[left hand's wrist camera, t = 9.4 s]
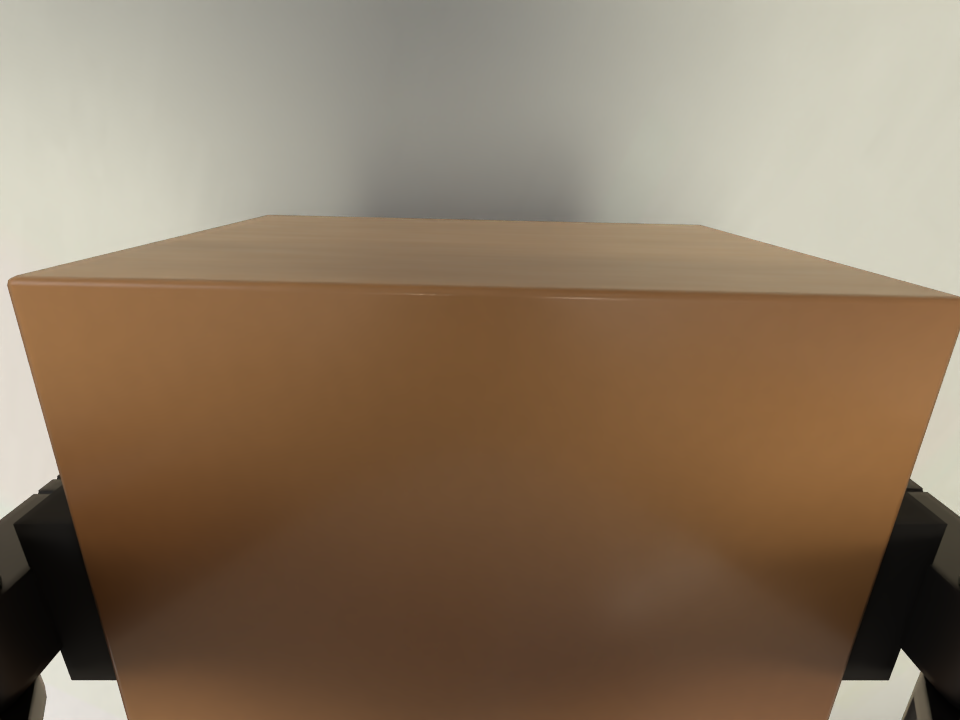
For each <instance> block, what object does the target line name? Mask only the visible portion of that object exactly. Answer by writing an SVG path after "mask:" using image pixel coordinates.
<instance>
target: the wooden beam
mask: <svg viewBox="0 0 960 720" xmlns="http://www.w3.org/2000/svg"><path fill="white" fill-rule="evenodd" d="M7 286H8V290H9V293H10V297H11V300H12V304H13V308H14V311H15V315H16V318H17V322H18V326H19V329H20V333H21V337H22V340H23V344H24V347H25V351H26V355H27V358H28V362H29V365H30V369H31V373H32V376H33V380H34V383H35V387H36V391H37V394H38V398H39V401H40V405H41V409H42V412H43V416H44V419H45V423H46V427H47V430H48V434H49V437H50V441H51V445H52V448H53V452H54V455H55V459H56V463H57V466H58V470H59V474H60V477H61V481H62V484H63V488H64V492H65V495H66V499H67V502H68V506H69V510H70V513H71V517H72V520H73V524H74V528H75V531H76V535H77V538H78V542H79V546H80V549H81V553H82V556H83V560H84V564H85V567H86V571H87V574H88V578H89V582H90V585H91V589H92V593H93V596H94V600H95V603H96V607H97V611H98V614H99V618H100V621H101V625H102V629H103V632H104V636H105V639H106V643H107V647H108V650H109V654H110V657H111V661H112V665H113V668H114V672H115V675H116V679H117V683H118V686H119V690H120V693H121V697H122V701H123V704H124V708H125V712H126V715H127V719H128V720H828V719H829V716H830V713H831V710H832V707H833V704H834V701H835V698H836V696H837V693H838V690H839V687H840V684H841V681H842V678H843V675H844V672H845V669H846V666H847V663H848V660H849V657H850V654H851V651H852V648H853V645H854V642H855V639H856V636H857V633H858V630H859V627H860V624H861V621H862V618H863V616H864V613H865V610H866V607H867V604H868V601H869V598H870V595H871V592H872V589H873V586H874V583H875V580H876V577H877V574H878V571H879V568H880V565H881V562H882V559H883V556H884V553H885V550H886V547H887V544H888V541H889V538H890V536H891V533H892V530H893V527H894V524H895V521H896V518H897V515H898V512H899V509H900V506H901V503H902V500H903V497H904V494H905V491H906V488H907V485H908V482H909V479H910V476H911V473H912V470H913V467H914V464H915V461H916V458H917V456H918V453H919V450H920V447H921V444H922V441H923V438H924V435H925V432H926V429H927V426H928V423H929V420H930V417H931V414H932V411H933V408H934V405H935V402H936V399H937V396H938V393H939V390H940V387H941V384H942V381H943V378H944V376H945V373H946V370H947V367H948V364H949V361H950V358H951V355H952V352H953V349H954V346H955V343H956V340H957V337H958V334H959V331H960V297H959V296H955V295H952V294H948V293H944V292H941V291H937V290H934V289H930V288H926V287H923V286H919V285H915V284H912V283H908V282H905V281H901V280H897V279H894V278H890V277H887V276H883V275H879V274H876V273H872V272H868V271H865V270H861V269H858V268H854V267H850V266H847V265H843V264H839V263H836V262H832V261H829V260H825V259H821V258H818V257H814V256H810V255H807V254H803V253H800V252H796V251H792V250H789V249H785V248H782V247H778V246H774V245H771V244H767V243H763V242H760V241H756V240H753V239H749V238H745V237H742V236H738V235H734V234H731V233H727V232H724V231H720V230H716V229H713V228H709V227H706V226H702V225H678V224H635V223H592V222H549V221H506V220H463V219H420V218H377V217H334V216H291V215H266V216H262V217H258V218H253V219H249V220H245V221H241V222H237V223H233V224H229V225H224V226H220V227H216V228H212V229H208V230H204V231H200V232H195V233H191V234H187V235H183V236H179V237H175V238H170V239H166V240H162V241H158V242H154V243H150V244H146V245H141V246H137V247H133V248H129V249H125V250H121V251H117V252H112V253H108V254H104V255H100V256H96V257H92V258H87V259H83V260H79V261H75V262H71V263H67V264H63V265H58V266H54V267H50V268H46V269H42V270H38V271H34V272H29V273H25V274H21V275H17V276H15V277H12V278H10V279H9V280H8V285H7Z"/></svg>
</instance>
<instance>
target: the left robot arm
mask: <svg viewBox="0 0 960 720" xmlns="http://www.w3.org/2000/svg"><path fill="white" fill-rule="evenodd" d="M901 648H902V650H903V651H904V652H905V653H906V654H907V656H908V657H909V658H910V659H911V660H912V661H913V663H914V664H915V665H916V666H917V667H918V669H919V670H920V671H921V673H920V675H919V677H918V680H917V682H916V685H915V687H914V690H913V692H912V695H911V697H910V700H909V702H908V705H907V707H906V710H905V712H904V715H903V717H902V720H960V517H959V516H958V515H957V514H955V513H954V512H953V511H952V510H950V509H949V508H948V507H946V506H945V505H944V504H942V503H941V502H940V501H938V500H937V499H936V498H935V497H933V496H932V495H931V494H929V493H928V492H923V488H921V487H920V486H919V485H918V484H916V483H915V482H914V481H912V480H911V479H909V482H908V485H907V488H906V491H905V494H904V497H903V500H902V503H901V506H900V509H899V512H898V515H897V518H896V521H895V524H894V527H893V530H892V533H891V536H890V538H889V541H888V544H887V547H886V550H885V553H884V556H883V559H882V562H881V565H880V568H879V571H878V574H877V577H876V580H875V583H874V586H873V589H872V592H871V595H870V598H869V601H868V604H867V607H866V610H865V613H864V616H863V618H862V621H861V624H860V627H859V630H858V633H857V636H856V639H855V642H854V645H853V648H852V651H851V654H850V657H849V660H848V663H847V666H846V669H845V672H844V675H843V678H842V680H889V678H890V676H891V673H892V670H893V668H894V665H895V662H896V660H897V657H898V654H899V652H900V649H901ZM60 650H61V653H62V656H63V658H64V661H65V664H66V666H67V669H68V672H69V674H70V677H71V680H117V679H116V675H115V672H114V668H113V665H112V661H111V657H110V654H109V650H108V647H107V643H106V639H105V636H104V632H103V629H102V625H101V621H100V618H99V614H98V611H97V607H96V603H95V600H94V596H93V593H92V589H91V585H90V582H89V578H88V574H87V571H86V567H85V564H84V560H83V556H82V553H81V549H80V546H79V542H78V538H77V535H76V531H75V528H74V524H73V520H72V517H71V513H70V510H69V506H68V502H67V499H66V495H65V492H64V488H63V484H62V481H61V477H60V474H59V475H58V476H57V479H53V480H52V481H50V482H49V483H48V484H46V485H45V486H44V487H42V488H41V489H40V490H39V493H38V494H33V495H32V496H31V497H29V498H28V499H27V500H26V501H24V502H23V503H22V504H20V505H19V506H18V507H16V508H15V509H14V510H13V511H11V512H10V513H9V514H7V515H6V516H5V517H3V518H2V519H1V520H0V720H43V717H44V710H45V704H46V698H47V696H46V690H45V685H44V682H43V680H42V677H41V675H40V673H41V672H42V671H43V670H44V669H45V668H46V666H47V665H48V664H49V663H50V662H51V660H52V659H53V658H54V657H55V656H56V654H57V653H58V652H59V651H60Z"/></svg>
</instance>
